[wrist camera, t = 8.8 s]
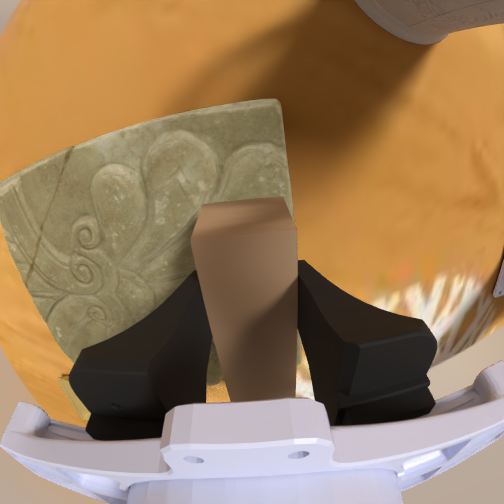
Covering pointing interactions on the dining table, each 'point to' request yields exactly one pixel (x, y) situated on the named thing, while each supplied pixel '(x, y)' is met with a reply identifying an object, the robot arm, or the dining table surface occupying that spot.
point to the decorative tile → (135, 214)
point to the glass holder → (431, 17)
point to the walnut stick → (250, 293)
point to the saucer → (74, 398)
